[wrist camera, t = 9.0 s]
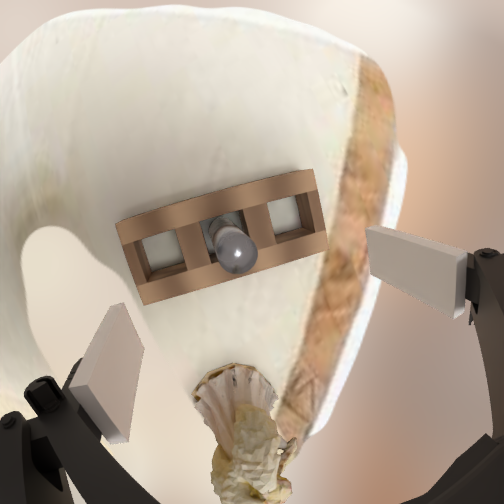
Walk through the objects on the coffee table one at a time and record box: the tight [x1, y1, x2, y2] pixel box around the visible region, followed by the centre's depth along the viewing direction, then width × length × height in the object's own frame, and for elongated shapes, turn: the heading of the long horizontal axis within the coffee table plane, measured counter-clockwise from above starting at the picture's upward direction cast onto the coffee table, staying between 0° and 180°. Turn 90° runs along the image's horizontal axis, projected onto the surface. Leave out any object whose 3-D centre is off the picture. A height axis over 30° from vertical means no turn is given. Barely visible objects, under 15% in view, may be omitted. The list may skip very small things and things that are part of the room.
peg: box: [209, 217, 258, 274], centre depth 28 cm, size 3×3×12 cm
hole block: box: [115, 169, 329, 305], centre depth 31 cm, size 21×9×4 cm, turn 104°
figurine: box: [192, 363, 297, 504], centre depth 29 cm, size 12×12×20 cm
